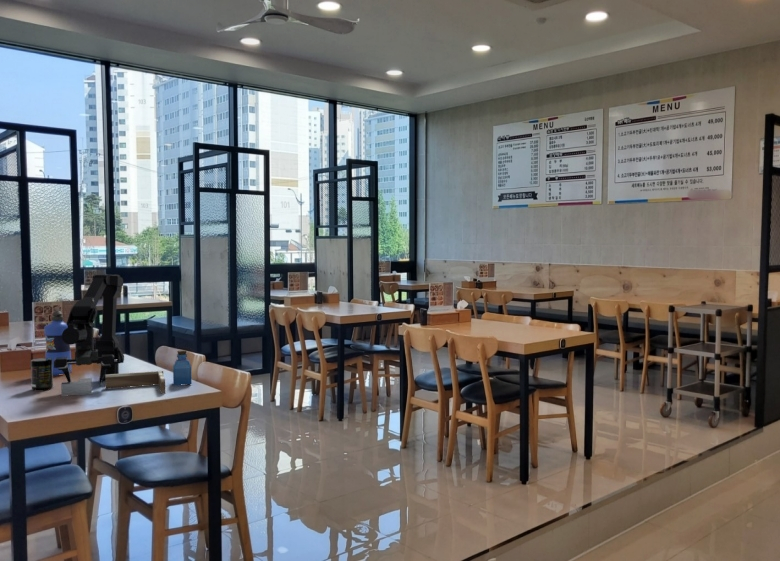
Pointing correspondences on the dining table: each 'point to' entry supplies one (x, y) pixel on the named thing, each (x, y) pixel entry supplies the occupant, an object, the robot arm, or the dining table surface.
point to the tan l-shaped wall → (135, 379)
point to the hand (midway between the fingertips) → (85, 385)
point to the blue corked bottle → (182, 369)
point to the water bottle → (56, 340)
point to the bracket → (77, 387)
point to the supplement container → (41, 374)
